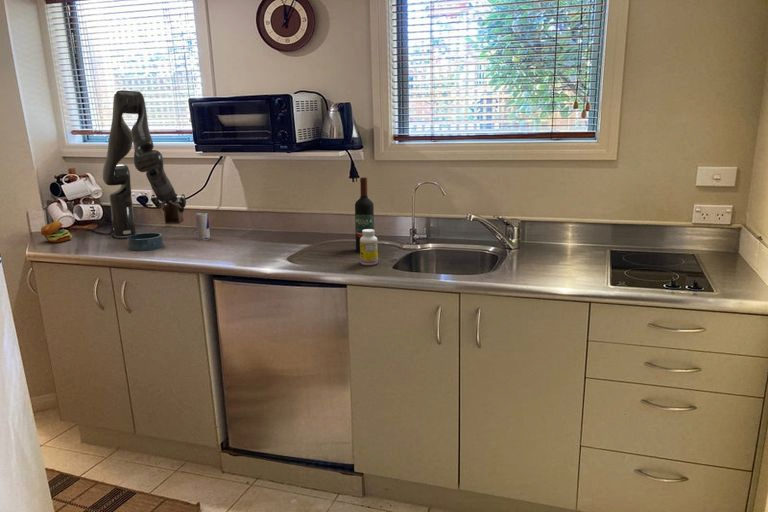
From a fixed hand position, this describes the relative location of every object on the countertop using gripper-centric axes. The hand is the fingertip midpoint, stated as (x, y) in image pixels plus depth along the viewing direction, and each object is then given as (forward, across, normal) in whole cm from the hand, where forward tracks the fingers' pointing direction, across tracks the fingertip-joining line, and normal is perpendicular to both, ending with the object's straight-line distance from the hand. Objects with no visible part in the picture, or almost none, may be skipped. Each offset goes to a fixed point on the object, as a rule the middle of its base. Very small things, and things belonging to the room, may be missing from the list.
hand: (174, 211), depth 247 cm
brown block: (+2, 0, +4) cm, 5 cm away
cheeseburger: (+17, +57, +4) cm, 59 cm away
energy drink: (+15, -10, +6) cm, 19 cm away
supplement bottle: (-17, -84, +38) cm, 94 cm away
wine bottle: (-2, -82, +24) cm, 86 cm away
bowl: (+4, +11, +16) cm, 20 cm away
